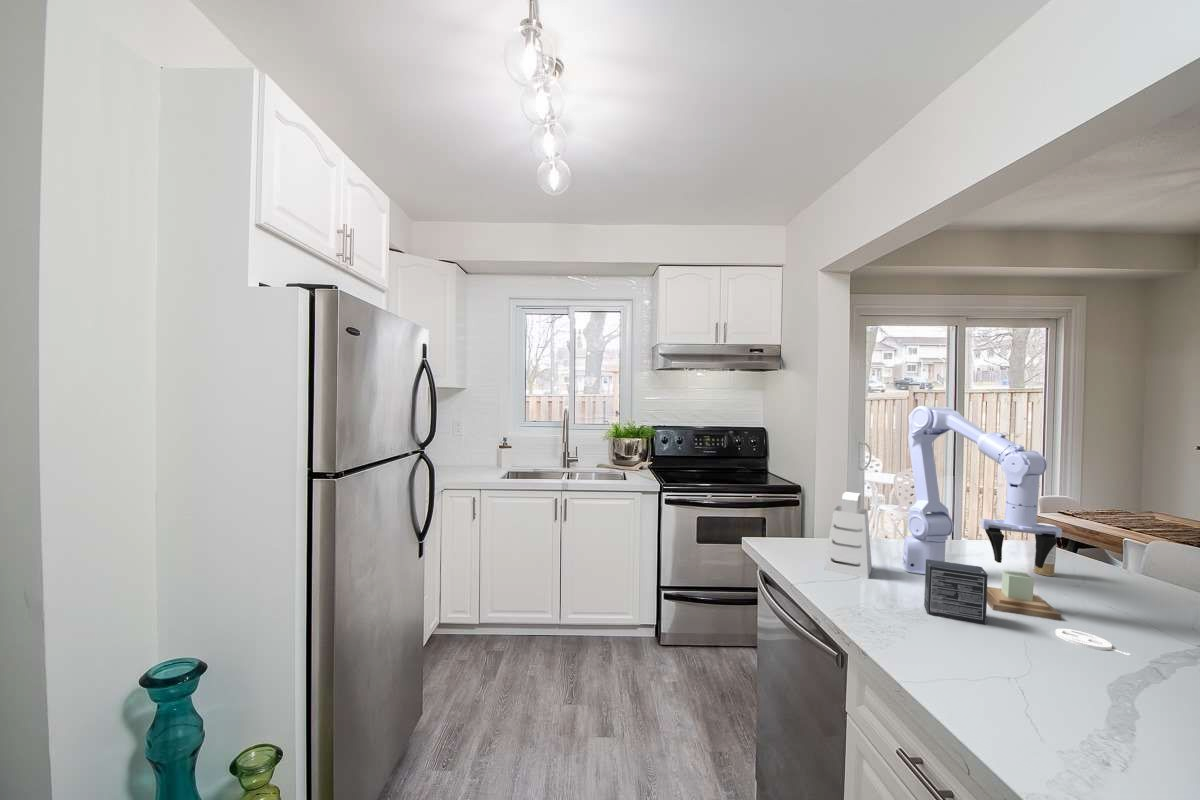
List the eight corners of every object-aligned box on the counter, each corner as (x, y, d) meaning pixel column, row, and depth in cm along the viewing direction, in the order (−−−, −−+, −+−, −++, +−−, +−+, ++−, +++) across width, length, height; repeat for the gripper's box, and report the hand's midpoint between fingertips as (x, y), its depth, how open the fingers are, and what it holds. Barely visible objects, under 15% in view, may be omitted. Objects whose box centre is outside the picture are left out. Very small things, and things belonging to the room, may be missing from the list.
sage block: (1008, 597, 120) (1009, 575, 120) (1001, 591, 124) (1002, 569, 124) (1032, 601, 119) (1033, 579, 119) (1024, 594, 123) (1026, 572, 123)
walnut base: (993, 609, 118) (993, 600, 118) (976, 591, 129) (977, 583, 129) (1060, 620, 114) (1061, 610, 114) (1037, 600, 125) (1038, 592, 125)
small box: (980, 614, 115) (982, 565, 115) (987, 625, 110) (989, 574, 109) (922, 604, 120) (925, 557, 120) (926, 614, 114) (929, 565, 114)
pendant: (1060, 629, 110) (1060, 625, 110) (1135, 651, 101) (1135, 647, 101) (1050, 637, 105) (1050, 633, 105) (1128, 661, 97) (1128, 657, 97)
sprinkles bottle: (1035, 570, 149) (1038, 521, 149) (1056, 574, 145) (1059, 525, 145) (1031, 573, 146) (1034, 523, 146) (1052, 577, 143) (1055, 527, 142)
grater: (823, 569, 141) (827, 494, 141) (830, 560, 150) (833, 488, 150) (867, 578, 136) (871, 499, 136) (871, 567, 145) (875, 493, 144)
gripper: (988, 503, 120) (985, 564, 120) (1069, 511, 115) (1066, 574, 115) (979, 498, 127) (976, 555, 127) (1055, 505, 121) (1051, 565, 122)
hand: (1018, 564), depth 121 cm, fingers open, 7 cm apart
